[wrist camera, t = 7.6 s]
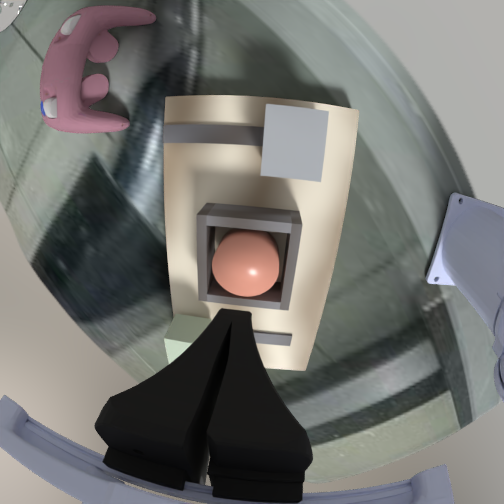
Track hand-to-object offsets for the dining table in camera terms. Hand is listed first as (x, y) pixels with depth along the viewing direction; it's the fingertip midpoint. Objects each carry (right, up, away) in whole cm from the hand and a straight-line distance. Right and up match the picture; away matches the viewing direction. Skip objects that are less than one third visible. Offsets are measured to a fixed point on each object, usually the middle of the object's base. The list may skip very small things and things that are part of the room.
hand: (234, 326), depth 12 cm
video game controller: (-10, +17, +3) cm, 20 cm away
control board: (+1, +3, +9) cm, 9 cm away
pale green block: (-4, -3, +10) cm, 12 cm away
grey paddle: (+3, +10, +3) cm, 11 cm away
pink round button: (+1, +3, +7) cm, 8 cm away
